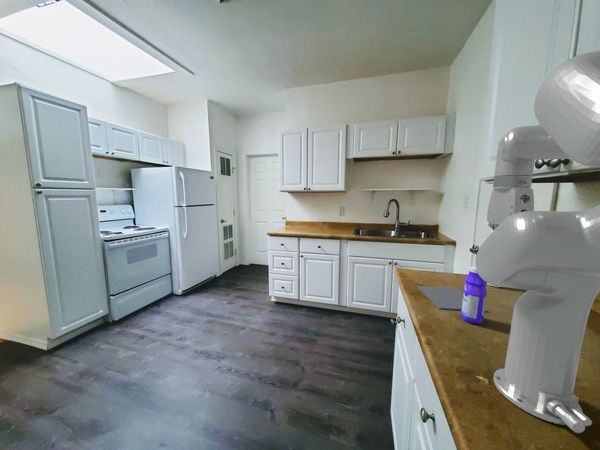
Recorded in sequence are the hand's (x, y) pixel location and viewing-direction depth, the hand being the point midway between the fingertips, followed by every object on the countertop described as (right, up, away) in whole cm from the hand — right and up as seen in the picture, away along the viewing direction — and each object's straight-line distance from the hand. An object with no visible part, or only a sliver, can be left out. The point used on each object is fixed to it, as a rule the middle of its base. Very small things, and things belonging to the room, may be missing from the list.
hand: (502, 251), depth 64 cm
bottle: (0, -24, +12) cm, 27 cm away
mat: (+3, -22, +28) cm, 35 cm away
